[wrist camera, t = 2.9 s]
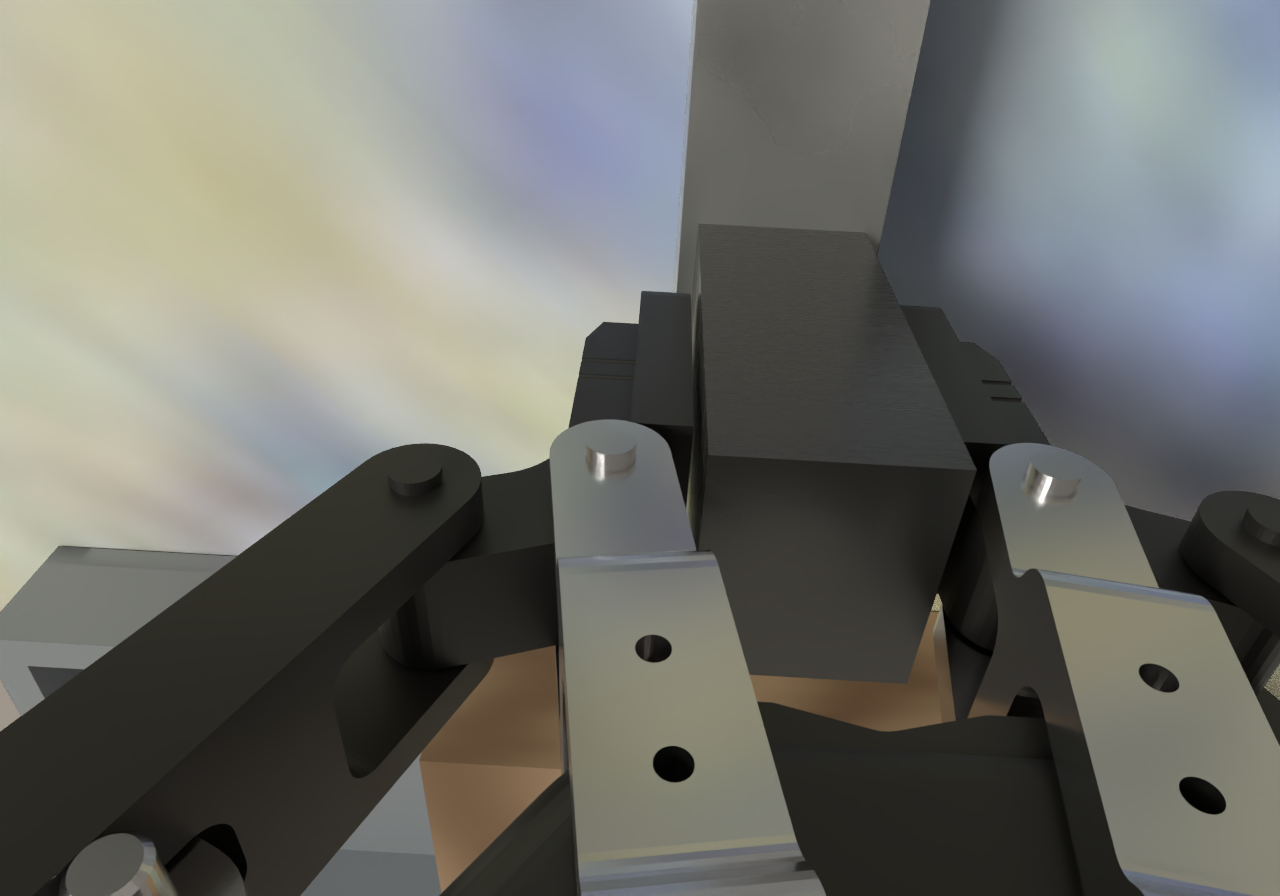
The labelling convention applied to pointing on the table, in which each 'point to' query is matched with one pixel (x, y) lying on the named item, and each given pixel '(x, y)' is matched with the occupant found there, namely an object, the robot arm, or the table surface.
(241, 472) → the table surface
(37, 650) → the tray
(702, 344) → the scraper
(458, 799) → the walnut block
